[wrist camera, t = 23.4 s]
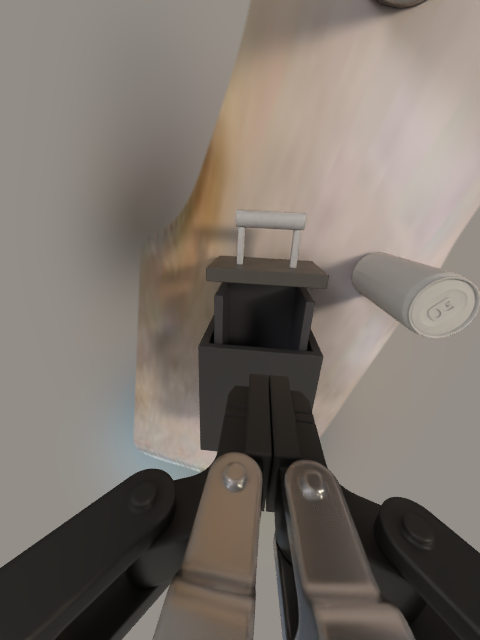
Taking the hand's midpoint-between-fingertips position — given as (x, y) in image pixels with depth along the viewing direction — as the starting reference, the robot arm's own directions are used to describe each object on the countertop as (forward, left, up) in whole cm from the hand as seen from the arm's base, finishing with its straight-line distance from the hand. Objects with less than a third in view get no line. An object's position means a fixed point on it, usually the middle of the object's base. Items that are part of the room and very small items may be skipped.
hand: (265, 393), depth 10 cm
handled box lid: (+2, 0, -20) cm, 20 cm away
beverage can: (-1, +12, -21) cm, 25 cm away
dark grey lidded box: (+12, 0, -21) cm, 24 cm away
